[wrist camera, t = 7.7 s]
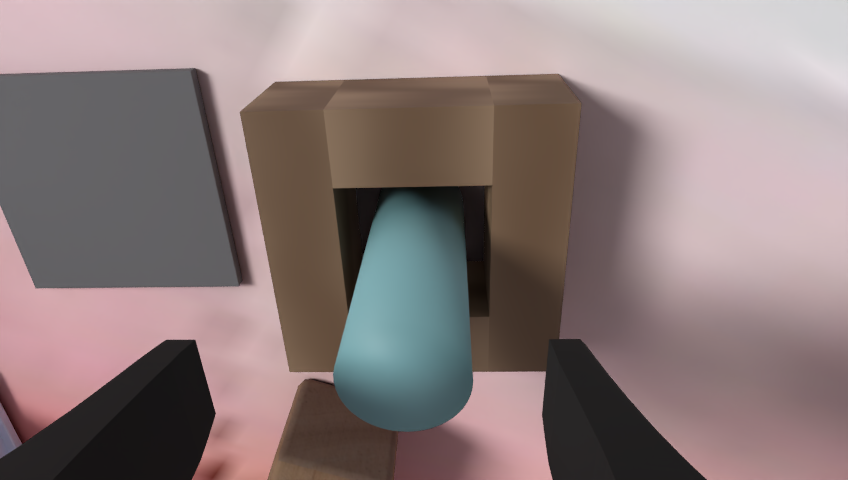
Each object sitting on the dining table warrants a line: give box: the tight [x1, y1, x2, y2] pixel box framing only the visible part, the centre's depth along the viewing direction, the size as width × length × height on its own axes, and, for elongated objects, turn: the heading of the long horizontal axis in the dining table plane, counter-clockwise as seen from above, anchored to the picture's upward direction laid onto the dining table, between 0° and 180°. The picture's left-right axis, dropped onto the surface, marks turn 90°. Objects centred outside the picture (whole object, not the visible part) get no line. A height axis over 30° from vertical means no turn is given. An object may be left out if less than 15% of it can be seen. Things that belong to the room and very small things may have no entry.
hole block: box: [240, 74, 581, 372], centre depth 19 cm, size 9×9×4 cm
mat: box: [0, 68, 242, 288], centre depth 20 cm, size 8×8×1 cm
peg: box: [333, 186, 473, 432], centre depth 16 cm, size 3×3×9 cm
